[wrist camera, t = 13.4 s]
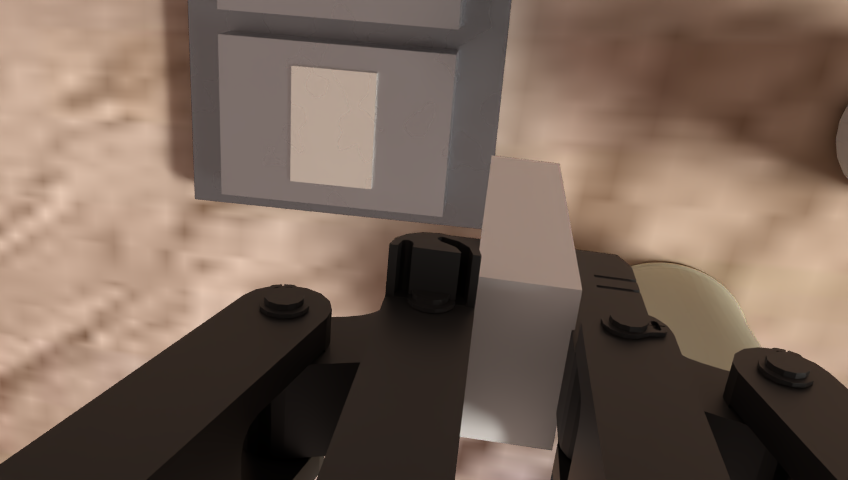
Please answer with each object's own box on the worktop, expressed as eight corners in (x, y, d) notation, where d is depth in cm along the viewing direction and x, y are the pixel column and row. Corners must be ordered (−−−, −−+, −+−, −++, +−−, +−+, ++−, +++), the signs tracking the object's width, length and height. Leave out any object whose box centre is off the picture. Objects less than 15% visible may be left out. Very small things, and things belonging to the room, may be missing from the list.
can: (529, 309, 39) (536, 451, 27) (702, 229, 36) (788, 350, 25) (608, 447, 41) (644, 631, 30) (776, 381, 38) (884, 553, 27)
